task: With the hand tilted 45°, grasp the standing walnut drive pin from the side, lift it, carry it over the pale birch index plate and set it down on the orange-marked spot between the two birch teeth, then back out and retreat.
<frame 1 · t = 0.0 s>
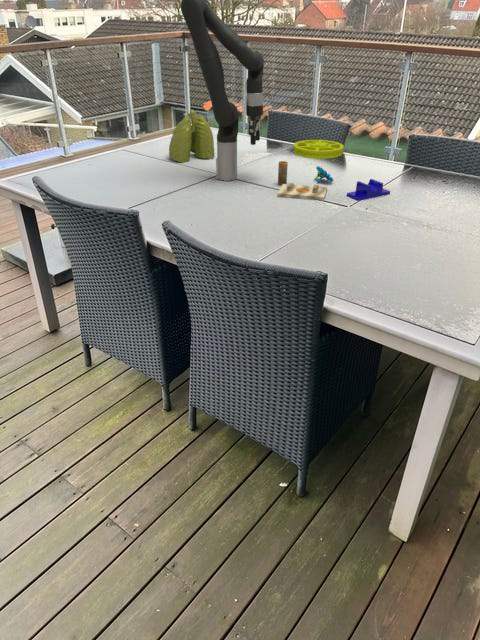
hand: (255, 142, 222), 17 cm above the table, tool pointing down, fingers open, 8 cm apart
index plate: (302, 193, 214), on the table
drive pin: (282, 184, 225), on the table
mounting bracket: (368, 196, 213), on the table
gear: (323, 182, 229), on the table
pulley: (317, 153, 277), on the table
lungs: (191, 158, 266), on the table
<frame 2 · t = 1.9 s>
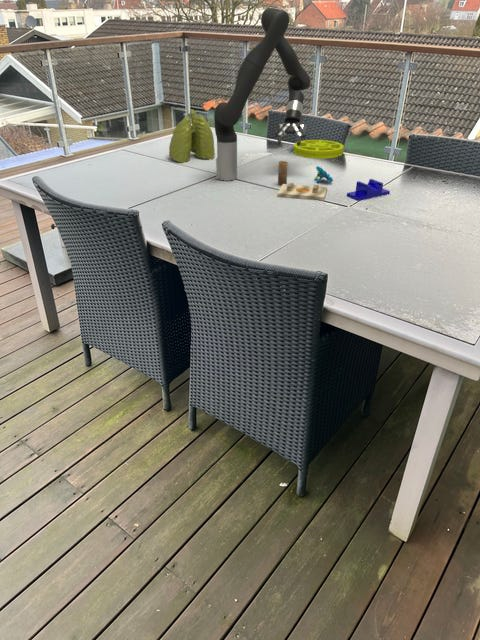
hand: (288, 144, 227), 15 cm above the table, tool tilted 45°, fingers open, 8 cm apart
nothing on the table moved.
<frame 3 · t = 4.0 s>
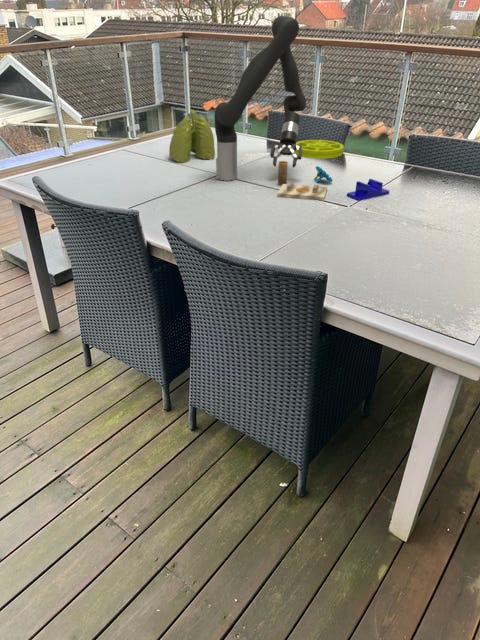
hand: (284, 166, 223), 8 cm above the table, tool tilted 45°, fingers open, 8 cm apart
nothing on the table moved.
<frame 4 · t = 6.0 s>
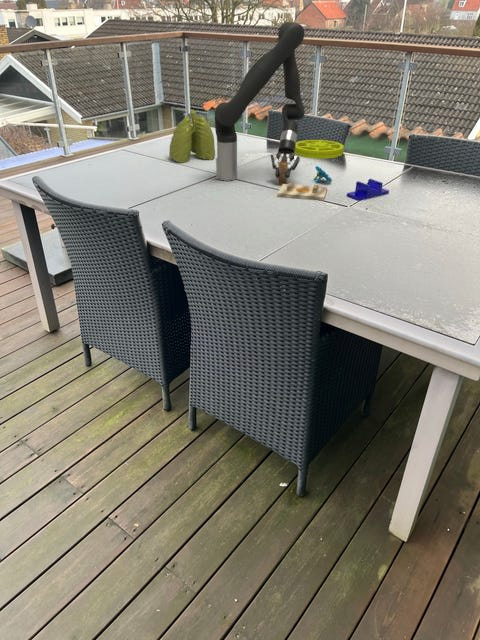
hand: (282, 176, 222), 4 cm above the table, tool tilted 45°, fingers closed on drive pin, 4 cm apart
drive pin: (282, 184, 225), on the table, touching gripper
everything else where it was.
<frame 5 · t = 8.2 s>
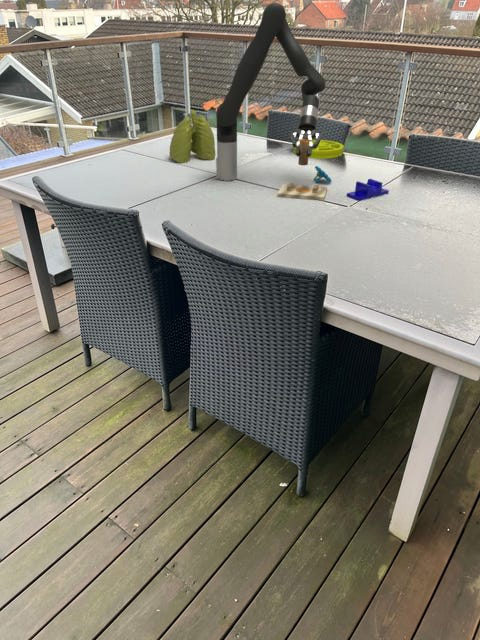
hand: (303, 155, 206), 16 cm above the table, tool tilted 45°, fingers closed on drive pin, 4 cm apart
drive pin: (303, 164, 209), point 12 cm above the table, touching gripper
when the fingers open (7 cm above the table, at t = 10.5 s): drive pin stays where it is, resting on index plate.
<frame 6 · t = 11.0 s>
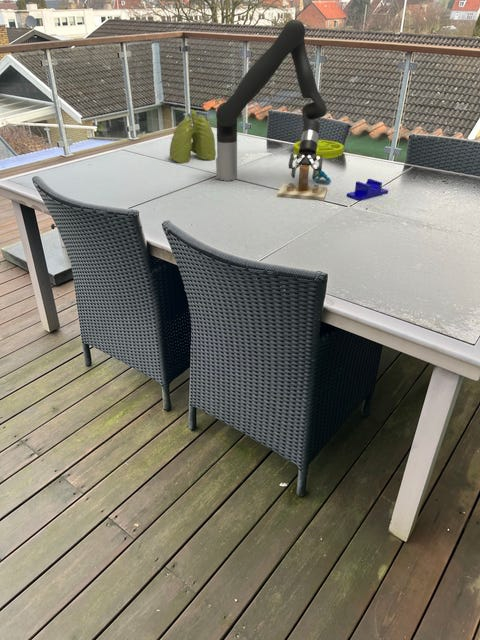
hand: (303, 177, 209), 7 cm above the table, tool tilted 45°, fingers open, 8 cm apart
drive pin: (302, 189, 213), point 2 cm above the table, touching index plate
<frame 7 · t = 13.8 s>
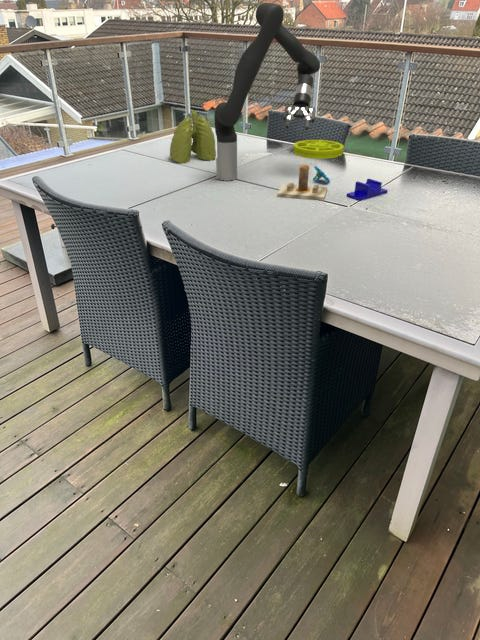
hand: (297, 128, 221), 23 cm above the table, tool tilted 45°, fingers open, 8 cm apart
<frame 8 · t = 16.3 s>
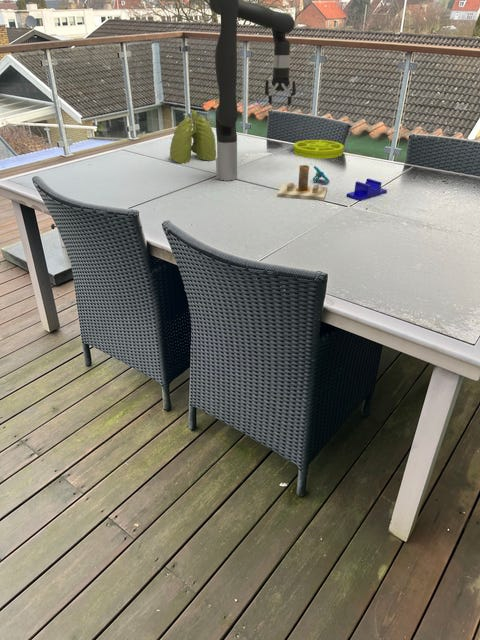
hand: (279, 104, 231), 30 cm above the table, tool pointing down, fingers open, 8 cm apart
at the end: drive pin 0.1 cm off-centre on the index plate, point 1.7 cm above the index plate's base; drive pin tilted 0°; the gripper is holding nothing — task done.
